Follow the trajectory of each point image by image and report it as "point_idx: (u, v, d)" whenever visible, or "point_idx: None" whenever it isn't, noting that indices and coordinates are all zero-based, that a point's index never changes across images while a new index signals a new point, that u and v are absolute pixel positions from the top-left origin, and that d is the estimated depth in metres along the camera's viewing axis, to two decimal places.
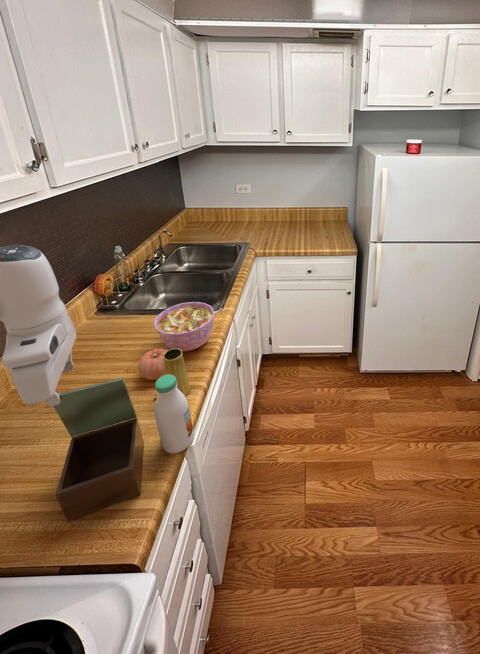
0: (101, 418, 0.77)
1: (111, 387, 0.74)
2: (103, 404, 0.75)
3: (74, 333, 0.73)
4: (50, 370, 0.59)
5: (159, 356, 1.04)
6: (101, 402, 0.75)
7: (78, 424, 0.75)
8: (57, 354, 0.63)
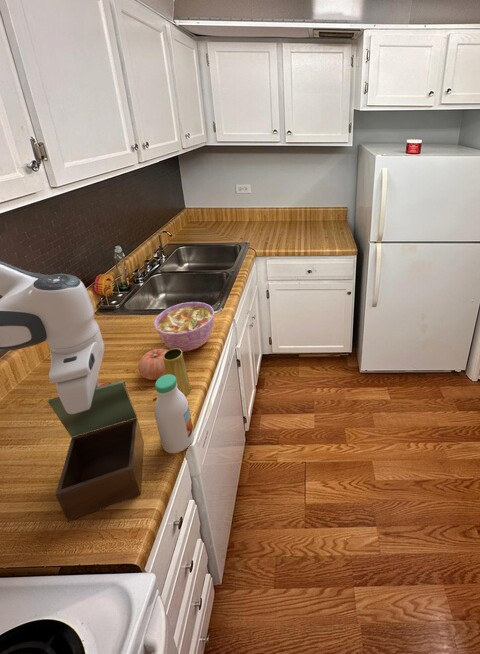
0: (101, 419, 0.77)
1: (111, 390, 0.73)
2: (103, 406, 0.75)
3: (102, 348, 0.81)
4: (88, 383, 0.67)
5: (159, 356, 1.04)
6: (100, 404, 0.74)
7: (77, 425, 0.75)
8: (92, 368, 0.71)
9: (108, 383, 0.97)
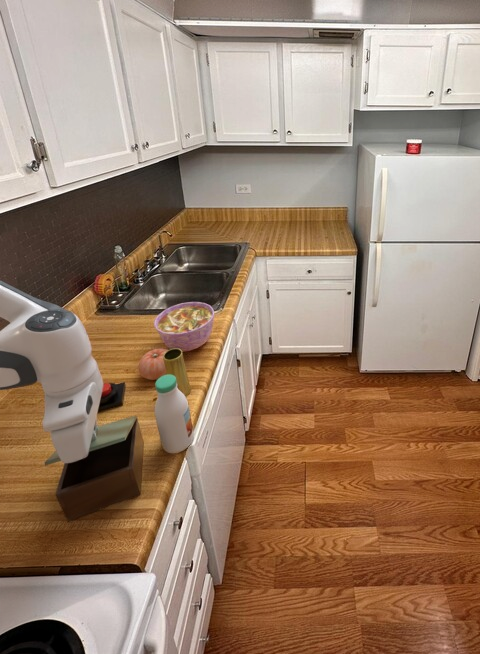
0: None
1: None
2: None
3: None
4: (85, 428, 0.62)
5: (159, 356, 1.04)
6: None
7: None
8: (89, 409, 0.66)
9: (108, 383, 0.97)
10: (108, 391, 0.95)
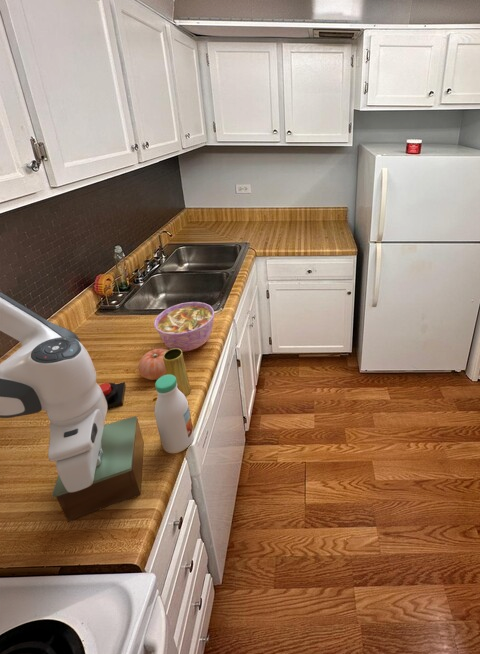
0: None
1: None
2: None
3: (105, 405, 0.76)
4: None
5: (159, 356, 1.04)
6: None
7: None
8: None
9: (108, 383, 0.97)
10: (108, 391, 0.95)
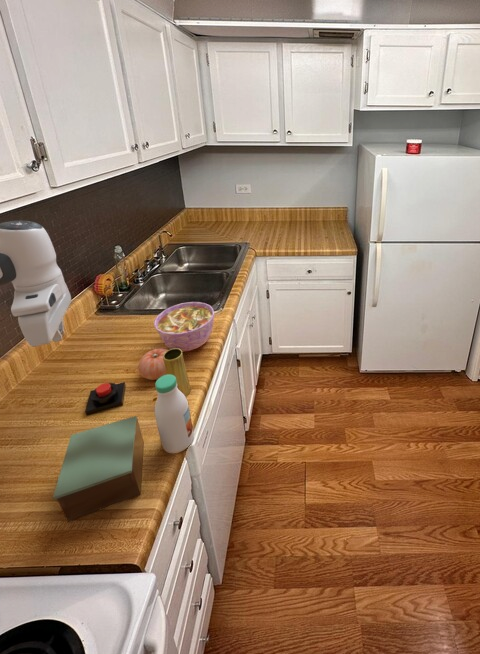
0: None
1: None
2: None
3: (69, 297, 0.87)
4: (49, 321, 0.74)
5: (159, 356, 1.04)
6: None
7: None
8: (55, 310, 0.78)
9: (108, 383, 0.97)
10: (108, 391, 0.95)
